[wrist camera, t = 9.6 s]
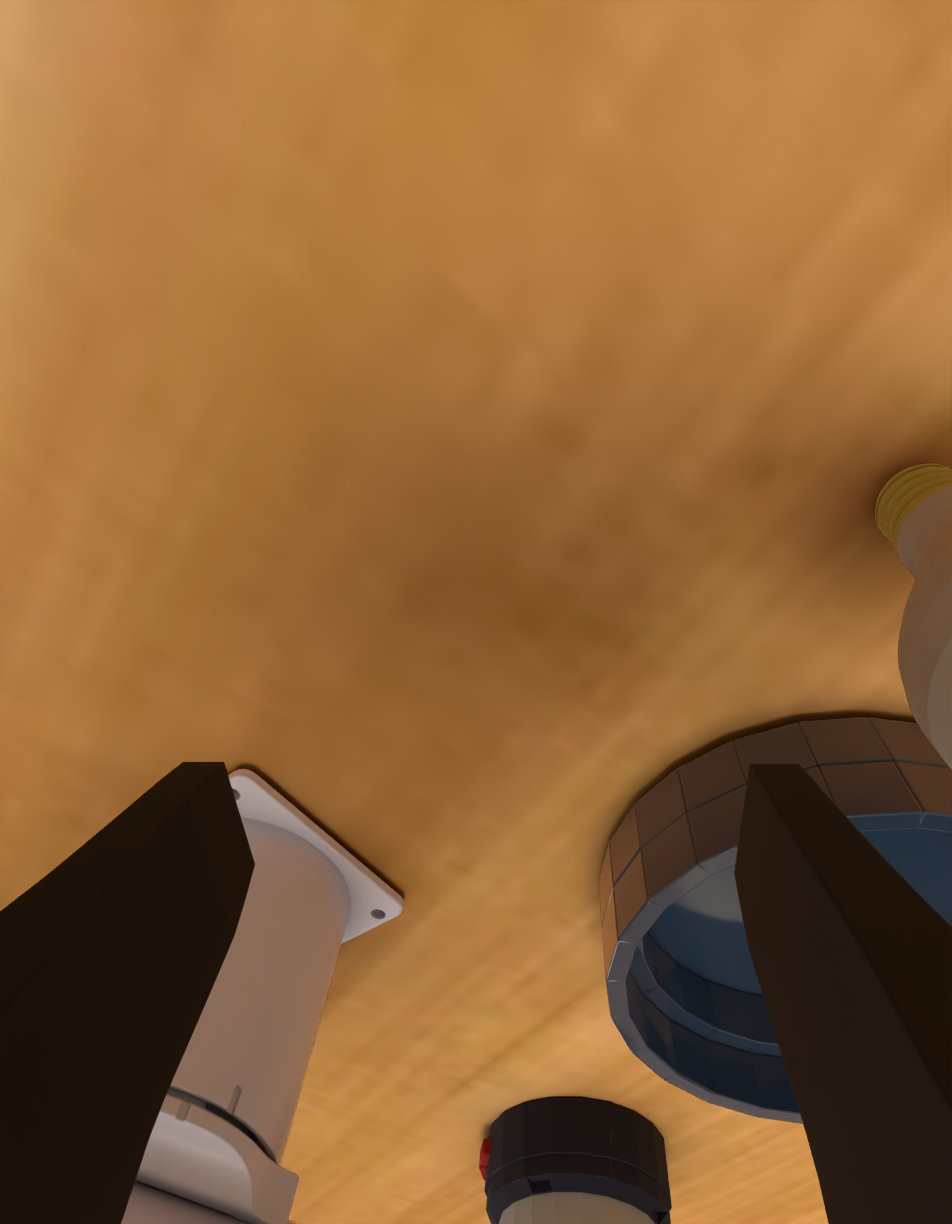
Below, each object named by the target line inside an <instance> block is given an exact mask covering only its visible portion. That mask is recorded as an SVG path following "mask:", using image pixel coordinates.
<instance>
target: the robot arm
mask: <svg viewBox="0 0 952 1224" xmlns="http://www.w3.org/2000/svg"><path fill="white" fill-rule="evenodd" d="M232 789H235V790H237V791H238V792H235V791H233V790H232ZM734 875H735V881H736V886H737V892H738V897H739V902H740V908H741V913H742V918H743V923H744V928H745V933H746V938H747V943H748V948H749V952H750V955H751V958H752V962H753V965H754V968H755V972H756V975H757V978H758V981H759V984H760V988H761V991H762V994H763V997H764V1001H765V1004H766V1007H767V1010H768V1014H769V1017H770V1020H771V1023H772V1026H773V1029H774V1033H775V1036H776V1039H777V1042H778V1045H779V1048H780V1052H781V1055H782V1058H783V1061H784V1064H785V1067H786V1071H787V1074H788V1077H789V1080H790V1083H791V1087H792V1090H793V1093H794V1096H795V1099H796V1102H797V1106H798V1109H799V1112H800V1115H801V1118H802V1122H803V1125H804V1128H805V1131H806V1134H807V1138H808V1142H809V1145H810V1149H811V1153H812V1156H813V1160H814V1164H815V1167H816V1171H817V1174H818V1178H819V1183H820V1187H821V1192H822V1196H823V1200H824V1205H825V1209H826V1214H827V1218H828V1223H829V1224H952V926H951V925H950V924H949V923H948V922H947V921H946V920H945V919H944V918H943V917H942V916H941V915H940V914H939V913H938V912H937V911H936V910H935V909H934V908H933V907H932V906H931V905H930V904H929V903H928V902H927V901H926V900H925V899H924V898H923V897H922V896H921V895H920V894H919V893H918V892H917V891H916V890H915V889H914V888H913V887H912V886H911V885H910V884H909V883H908V882H907V881H906V880H905V879H904V877H903V876H902V875H901V874H900V873H899V872H898V871H897V870H896V869H895V868H894V867H893V866H892V865H891V864H890V863H889V862H888V861H887V860H886V859H885V858H884V857H883V856H882V855H881V854H880V852H879V851H878V850H877V849H876V848H875V847H874V846H873V845H872V844H871V843H870V842H869V841H868V840H867V838H866V837H865V836H864V835H863V834H862V833H861V832H860V831H859V830H858V829H857V828H856V826H855V825H854V824H853V823H852V822H851V821H850V820H849V819H848V818H847V817H846V815H845V814H844V813H843V812H842V811H841V810H840V809H839V808H838V807H837V805H836V804H835V803H834V802H833V801H832V800H831V799H830V798H829V796H828V795H827V794H826V793H825V792H824V791H823V790H822V789H821V787H820V786H819V785H818V784H817V783H816V782H815V781H814V780H813V778H812V777H811V776H810V775H809V774H808V773H807V772H806V771H805V770H804V769H803V768H802V767H801V766H800V765H799V764H750V767H749V774H748V781H747V788H746V795H745V801H744V808H743V815H742V822H741V829H740V836H739V843H738V849H737V856H736V863H735V870H734ZM403 905H404V901H403V898H402V897H401V896H400V895H399V894H398V893H397V892H395V891H394V890H393V889H392V888H391V887H389V886H388V885H387V884H386V883H385V882H384V881H382V880H381V879H380V878H379V877H378V876H376V875H375V874H374V873H373V872H372V871H370V870H369V869H368V868H367V867H366V866H365V865H363V864H362V863H361V862H360V861H359V860H357V859H356V858H355V857H354V856H353V855H352V854H350V853H349V852H348V851H347V850H346V849H344V848H343V847H342V846H341V845H340V844H339V843H337V842H336V841H335V840H334V839H333V838H331V837H330V836H329V835H328V834H327V833H325V832H324V831H323V830H322V829H321V828H320V827H318V826H317V825H316V824H315V823H314V822H312V821H311V820H310V819H309V818H308V817H307V816H305V815H304V814H303V813H302V812H301V811H299V810H298V809H297V808H296V807H295V806H294V805H292V804H291V803H290V802H289V801H288V800H286V799H285V798H284V797H283V796H282V795H280V794H279V793H278V792H277V791H276V790H275V789H273V788H272V787H271V786H270V785H269V784H267V783H266V782H265V781H264V780H263V779H262V778H260V777H259V776H258V775H257V774H256V773H254V772H252V771H251V770H247V769H238V770H236V771H234V772H232V773H231V774H229V775H228V773H227V770H226V767H225V764H224V762H183V763H181V764H180V765H179V766H177V767H176V768H175V769H174V770H172V771H171V772H170V773H169V774H167V775H166V776H165V777H164V778H162V779H161V780H160V781H159V782H158V783H156V784H155V785H154V786H153V787H152V788H150V789H149V790H148V791H147V792H146V793H144V794H143V795H142V796H141V797H140V798H138V799H137V800H136V801H135V802H134V803H133V804H131V805H130V806H129V807H128V808H127V809H126V810H124V811H123V812H122V813H121V814H120V815H118V816H117V817H116V818H115V819H114V820H113V821H111V822H110V823H109V824H108V825H107V826H106V827H104V828H103V829H102V830H101V831H100V832H98V833H97V834H96V835H95V836H94V837H92V838H91V839H90V840H89V841H88V842H86V843H85V844H84V845H83V846H82V847H80V848H79V849H78V850H77V851H76V852H74V853H73V854H72V855H71V856H70V857H68V858H67V859H66V860H65V861H64V862H62V863H61V864H60V865H59V866H58V867H56V868H55V869H54V870H53V871H51V872H50V873H49V874H48V875H46V876H45V877H44V878H43V879H41V880H40V881H39V882H37V883H36V884H35V885H34V886H32V887H31V888H30V889H28V890H27V891H26V892H25V893H23V894H22V895H21V896H19V897H18V898H17V899H16V900H14V901H13V902H12V903H10V904H9V905H8V906H7V907H5V908H4V909H3V910H1V911H0V1224H298V1223H296V1222H293V1221H291V1220H288V1219H289V1215H290V1211H291V1207H292V1203H293V1199H294V1195H295V1191H296V1187H297V1183H298V1179H299V1177H298V1175H297V1174H296V1173H294V1172H292V1171H289V1170H287V1169H285V1168H283V1167H282V1166H281V1162H282V1158H283V1155H284V1151H285V1147H286V1144H287V1140H288V1137H289V1133H290V1129H291V1126H292V1122H293V1118H294V1115H295V1111H296V1107H297V1104H298V1100H299V1096H300V1093H301V1089H302V1085H303V1082H304V1078H305V1074H306V1071H307V1067H308V1064H309V1060H310V1056H311V1053H312V1049H313V1045H314V1042H315V1038H316V1034H317V1031H318V1027H319V1023H320V1020H321V1016H322V1012H323V1009H324V1005H325V1001H326V998H327V994H328V990H329V987H330V983H331V980H332V976H333V972H334V969H335V965H336V961H337V958H338V954H339V950H340V947H341V944H343V943H345V942H347V941H349V940H351V939H353V938H355V937H357V936H359V935H361V934H363V933H365V932H367V931H369V930H371V929H373V928H375V927H377V926H379V925H381V924H383V923H385V922H387V921H389V920H391V919H393V918H395V917H397V916H398V915H400V914H401V912H402V910H403Z"/></svg>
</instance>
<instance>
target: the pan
mask: <svg viewBox="0 0 952 1224" xmlns="http://www.w3.org/2000/svg"><path fill="white" fill-rule="evenodd" d="M750 764H799V765H800V766H801V767H802V768H803V769H804V770H805V771H806V772H807V773H808V774H809V775H810V776H811V777H812V778H813V780H814V781H815V782H816V783H817V784H818V785H819V786H820V787H821V789H822V790H823V791H824V792H825V793H826V794H827V795H828V796H829V798H830V799H831V800H832V801H833V802H834V803H835V804H836V805H837V807H838V808H839V809H840V810H841V811H842V812H843V813H844V814H845V815H846V817H847V818H848V819H849V820H850V821H851V822H852V823H853V824H854V825H855V826H856V828H857V829H858V830H859V831H860V832H861V833H862V834H863V835H864V836H865V837H866V838H867V840H868V841H869V842H870V843H871V844H872V845H873V846H874V847H875V848H876V849H877V850H878V851H879V852H880V854H881V855H882V856H883V857H884V858H885V859H886V860H887V861H888V862H889V863H890V864H891V865H892V866H893V867H894V868H895V869H896V870H897V871H898V872H899V873H900V874H901V875H902V876H903V877H904V879H905V880H906V881H907V882H908V883H909V884H910V885H911V886H912V887H913V888H914V889H915V890H916V891H917V892H918V893H919V894H920V895H921V896H922V897H923V898H924V899H925V900H926V901H927V902H928V903H929V904H930V905H931V906H932V907H933V908H934V909H935V910H936V911H937V912H938V913H939V914H940V915H941V916H942V917H943V918H944V919H945V920H946V921H947V922H948V923H949V924H950V925H951V926H952V769H951V768H950V767H949V766H948V765H947V763H946V762H945V761H944V759H943V758H942V757H941V756H940V754H939V753H938V752H937V750H936V749H935V747H934V746H933V745H932V743H931V742H930V741H929V739H928V738H927V737H926V735H925V734H924V733H923V731H922V730H921V729H920V727H919V725H918V724H917V723H912V722H904V721H896V720H888V719H880V718H873V717H870V718H868V717H852V718H839V719H826V720H813V721H800V722H798V723H792V724H788V725H785V726H781V727H777V728H774V729H770V730H767V731H763V732H759V733H756V734H752V735H748V736H745V737H741V738H737V739H734V741H729V742H727V743H725V744H723V745H721V746H719V747H717V748H715V749H713V750H711V751H709V752H707V753H706V754H704V755H702V756H700V757H698V758H696V759H694V760H692V761H690V762H688V763H686V764H684V765H682V766H680V767H679V768H678V769H677V768H676V769H675V770H674V771H672V772H671V773H670V774H669V775H668V776H666V777H665V778H664V779H663V780H662V781H660V782H659V783H658V784H657V785H656V786H654V787H653V788H652V789H651V790H650V791H648V792H647V793H646V794H645V795H644V796H643V797H641V798H640V799H639V800H638V801H637V802H636V804H634V806H633V807H632V809H631V810H630V812H629V813H628V814H627V816H626V817H625V819H624V820H623V822H622V823H621V825H620V826H619V828H618V829H617V831H616V832H615V834H614V835H613V837H612V838H611V840H610V842H609V843H608V847H607V851H606V854H605V858H604V862H603V866H602V870H601V873H600V877H599V892H600V906H601V921H602V935H603V949H604V964H605V978H606V986H607V994H608V1002H609V1009H610V1015H611V1018H612V1020H613V1022H614V1023H615V1025H616V1027H617V1028H618V1030H619V1032H620V1033H621V1035H622V1037H623V1039H624V1040H625V1042H626V1044H627V1045H628V1047H629V1049H630V1050H631V1051H632V1053H633V1054H635V1055H636V1056H637V1057H638V1058H639V1059H640V1060H641V1061H643V1062H644V1063H645V1064H646V1065H647V1066H648V1067H649V1068H651V1069H652V1070H653V1071H654V1072H655V1073H656V1074H657V1075H659V1076H660V1077H661V1078H662V1079H664V1080H665V1081H667V1082H669V1083H671V1084H673V1085H675V1086H677V1087H679V1088H680V1089H682V1090H684V1091H686V1092H688V1093H690V1094H692V1095H694V1096H696V1097H698V1098H700V1099H702V1100H704V1101H706V1102H708V1103H711V1104H714V1105H718V1106H721V1107H724V1108H728V1109H731V1110H734V1111H738V1112H741V1113H744V1114H747V1115H751V1116H754V1117H755V1116H756V1117H759V1118H766V1119H773V1120H780V1121H787V1122H794V1123H801V1124H803V1122H802V1118H801V1115H800V1112H799V1109H798V1106H797V1102H796V1099H795V1096H794V1093H793V1090H792V1087H791V1083H790V1080H789V1077H788V1074H787V1071H786V1067H785V1064H784V1061H783V1058H782V1055H781V1052H780V1048H779V1045H778V1042H777V1039H776V1036H775V1033H774V1029H773V1026H772V1023H771V1020H770V1017H769V1014H768V1010H767V1007H766V1004H765V1001H764V997H763V994H762V991H761V988H760V984H759V981H758V978H757V975H756V972H755V968H754V965H753V962H752V958H751V955H750V952H749V948H748V943H747V938H746V933H745V928H744V923H743V918H742V913H741V908H740V902H739V897H738V892H737V886H736V881H735V875H734V870H735V863H736V856H737V849H738V843H739V836H740V829H741V822H742V815H743V808H744V801H745V795H746V788H747V781H748V774H749V767H750Z"/></svg>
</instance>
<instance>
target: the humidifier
mask: <svg viewBox="0 0 952 1224" xmlns="http://www.w3.org/2000/svg"><path fill="white" fill-rule="evenodd" d="M479 1164H480V1165H479V1168H480V1171H481V1174H482V1176H483V1179H484V1180H485V1193H486V1196H487V1205H486V1211H487V1214H488V1216H489V1219H490V1222H491V1224H671V1221H670V1213H669V1211H670V1210H671V1208H672V1206H671V1197H670V1189H669V1180H668V1172H667V1163H666V1155H665V1146H664V1138H663V1137H662V1135H661V1134H660V1133H659V1131H658V1130H657V1129H656V1127H655V1126H654V1125H653V1124H652V1123H651V1122H649V1121H648V1120H646V1119H645V1118H643V1117H642V1116H640V1115H639V1114H637V1113H636V1112H634V1111H632V1110H629V1109H626V1108H623V1107H621V1106H618V1105H615V1104H612V1103H610V1102H605V1101H599V1100H593V1099H586V1098H580V1097H563V1098H546V1099H541V1100H536V1101H530V1102H525V1103H523V1104H521V1105H518V1106H516V1107H514V1108H512V1109H510V1110H507V1111H505V1112H504V1113H503V1114H502V1115H501V1116H500V1117H499V1118H498V1119H497V1120H496V1121H495V1122H494V1123H492V1126H491V1130H490V1133H489V1137H488V1139H483V1143H482V1147H481V1150H480V1163H479Z"/></svg>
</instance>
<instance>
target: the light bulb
mask: <svg viewBox="0 0 952 1224" xmlns="http://www.w3.org/2000/svg"><path fill="white" fill-rule="evenodd" d="M875 519H876V524H877V526H878V528H879V530H880V531H881V533H882V534H883V535H884V536H885V537H886V538H887V539H888V540H889V541H890V542H891V543H892V544H893V545H894V546H895V547H896V548H897V552H898V556H899V558H900V560H901V562H902V564H903V565H904V567H905V568H906V569H907V570H908V571H909V572H910V573H911V574H912V575H913V576H914V577H915V578H916V580H915V582H914V585H913V587H912V590H911V592H910V595H909V598H908V600H907V603H906V607H905V610H904V614H903V620H902V625H901V630H900V635H899V642H898V663H899V670H900V674H901V678H902V682H903V685H904V689H905V692H906V696H907V699H908V703H909V707H910V709H911V712H912V714H913V716H914V719H915V720H916V722H917V724H918V725H919V727H920V729H921V730H922V731H923V733H924V734H925V735H926V737H927V738H928V739H929V741H930V742H931V743H932V745H933V746H934V747H935V749H936V750H937V752H938V753H939V754H940V756H941V757H942V758H943V759H944V761H945V762H946V763H947V765H948V766H949V767H950V768H951V769H952V468H950V467H947V466H945V465H941V464H933V463H927V464H919V465H915V466H912V467H909V468H906V469H904V470H902V471H900V472H898V473H897V474H896V475H894V476H893V477H892V478H891V479H890V480H889V481H888V482H887V483H886V484H885V485H884V487H883V488H882V490H881V492H880V494H879V496H878V498H877V502H876V506H875Z"/></svg>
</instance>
